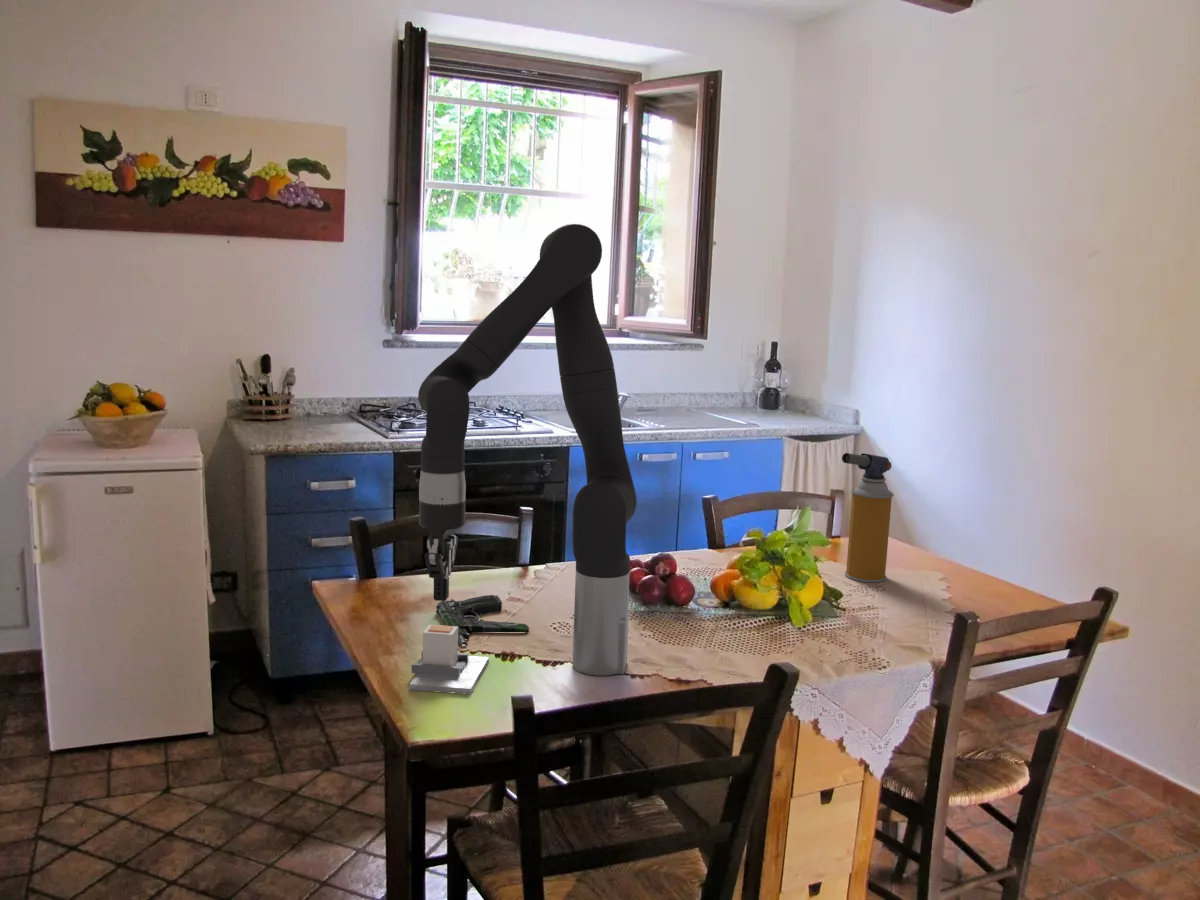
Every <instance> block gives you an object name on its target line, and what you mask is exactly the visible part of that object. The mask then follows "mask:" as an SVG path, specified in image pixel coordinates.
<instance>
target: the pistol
mask: <svg viewBox="0 0 1200 900" xmlns="http://www.w3.org/2000/svg"><path fill="white" fill-rule="evenodd" d="M502 606H503V601H502V600H501V598H500V597H499V595H494V594H490V595H489V594H488V595H481V596H475V597H471V598H470V597H469V598H467V599H463V600H454V599H452V598H451V599H450V600H445V601H438V603H437V605H435V608H436V610H435V613H436V614H438V615H440V617H441V619H442V620H443V621H444V623H445V626H457V627H458V642H459V643H458V645H459V646H460V647H461V646H462V644H465V645H466V646H468V641H467V640H465V639H470V635H469V634H473V633H472V632H529V633H530V627H529V625H527V624H526V623H519V622H509V621H495V620H494V621H490V620H479V615H483V614H488V613H495V612H494V611H501V610H502V609H503V607H502ZM501 612H502V611H501ZM468 633H469V634H468Z"/></svg>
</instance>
